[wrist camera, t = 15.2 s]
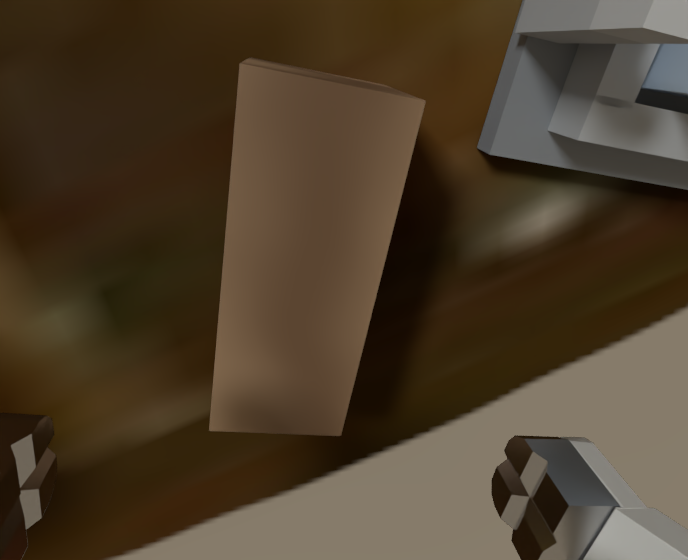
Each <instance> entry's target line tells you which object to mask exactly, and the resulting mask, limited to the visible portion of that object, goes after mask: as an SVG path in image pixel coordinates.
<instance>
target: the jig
mask: <svg viewBox="0 0 688 560" xmlns="http://www.w3.org/2000/svg"><path fill="white" fill-rule="evenodd" d="M660 44H688V0H523V1H522V4H521V7H520V11H519V14H518V17H517V20H516V24H515V27H514V30H513V33H512V36H511V40H510V43H509V46H508V49H507V53H506V56H505V59H504V62H503V66H502V69H501V72H500V75H499V78H498V82H497V85H496V88H495V91H494V95H493V98H492V101H491V104H490V107H489V111H488V114H487V117H486V120H485V124H484V127H483V130H482V133H481V137H480V140H479V143H478V146H477V148H478V149H480V150H482V151H484V152H486V153H488V154H489V155H495V156H501V157H506V158H512V159H517V160H523V161H529V162H534V163H540V164H545V165H551V166H557V167H562V168H568V169H573V170H579V171H585V172H590V173H596V174H602V175H607V176H613V177H618V178H624V179H630V180H635V181H641V182H646V183H652V184H658V185H663V186H669V187H674V188H680V189H686V190H688V98H686V97H680V96H675V95H670V94H665V93H660V92H655V91H650V90H645V89H641V87H642V84H643V82H644V80H645V77H646V75H647V73H648V71H649V68H650V66H651V64H652V61H653V59H654V57H655V55H656V52H657V50H658V48H659V46H660Z"/></svg>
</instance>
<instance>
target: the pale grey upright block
mask: <svg viewBox="0 0 688 560" xmlns="http://www.w3.org/2000/svg"><path fill="white" fill-rule="evenodd" d="M641 89H645V90H650V91H655V92H660V93H665V94H670V95H675V96H680V97H686V98H688V44H660V46H659V48H658V50H657V52H656V55H655V57H654V59H653V61H652V64H651V66H650V68H649V71H648V73H647V75H646V77H645V80H644V82H643V84H642V87H641Z"/></svg>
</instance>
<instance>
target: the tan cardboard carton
mask: <svg viewBox="0 0 688 560" xmlns="http://www.w3.org/2000/svg"><path fill="white" fill-rule="evenodd" d="M425 102H426V101H425V100H422V99H420V98H417V97H414V96H412V95H409V94H407V93H404V92H402V91H399V90H396V89H394V88H391V87H389V86H386V85H383V84H378V83H373V82H368V81H363V80H358V79H353V78H349V77H344V76H339V75H334V74H329V73H324V72H319V71H314V70H310V69H305V68H300V67H295V66H290V65H285V64H280V63H276V62H271V61H266V60H261V59H256V58H251V57H250V58H248V59H246V60H245V61H243V62H241V63H240V67H239V79H238V91H237V103H236V115H235V127H234V139H233V151H232V163H231V174H230V186H229V198H228V210H227V222H226V234H225V246H224V258H223V270H222V282H221V294H220V306H219V318H218V330H217V342H216V354H215V366H214V378H213V390H212V402H211V414H210V426H209V431H227V432H252V433H277V434H301V435H326V436H341V434H342V430H343V426H344V422H345V418H346V414H347V410H348V406H349V402H350V398H351V394H352V390H353V386H354V382H355V378H356V374H357V370H358V366H359V362H360V359H361V355H362V351H363V347H364V343H365V339H366V335H367V331H368V327H369V323H370V319H371V315H372V311H373V307H374V303H375V299H376V295H377V291H378V287H379V284H380V280H381V276H382V272H383V268H384V264H385V260H386V256H387V252H388V248H389V244H390V240H391V236H392V232H393V228H394V224H395V220H396V216H397V212H398V209H399V205H400V201H401V197H402V193H403V189H404V185H405V181H406V177H407V173H408V169H409V165H410V161H411V157H412V153H413V149H414V145H415V141H416V138H417V134H418V130H419V126H420V122H421V118H422V114H423V110H424V106H425Z"/></svg>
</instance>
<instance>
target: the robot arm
mask: <svg viewBox="0 0 688 560" xmlns="http://www.w3.org/2000/svg"><path fill="white" fill-rule="evenodd" d="M53 436H54V429H53V422H52V418H50V417H48V416H43V415H27V414H12V413H0V560H21V559H22V557H23V555H24V553H25V551H26V549H27V547H28V541H27V534H26V529H28V528H29V527H30V526H32V525H33V524H34V523H36V522H37V521H38V520H40V519H41V518H42V516H43V514H44V512H45V510H46V508H47V506H48V504H49V502H50V499H51V495H52V492H53V489H54V485H55V482H56V473H57V459H56V455H55V454H54V453H53V452H52V451H51V450H50V449H49V448H48V445H49V443H50V441H51V439H52V438H53ZM505 454H506V456H507V460H505V461H504V462H503V463H501V464H500V465H499V466H498V467H497V468H496V470H495V473H494V475H493V478H492V496H493V501H494V505H495V508H496V510H497V512H498V514H499V516H500V518H501V519H502V520H503V521H504V522H506V523H507V524H508V525H509V526H510V527H511V528H513V534H512V542H513V544H514V546H515V548H516V550H517V552H518V554H519V556H520V558H521V560H688V530H687V529H686V528H684V527H683V526H681V525H680V524H678V523H677V522H675V521H674V520H672V519H671V518H669V517H667V516H666V515H665V514H663V513H661V512H660V511H658V510H657V509H655V508H647V507H646V505H645V504H644V503H643V502H642V501H641V500H640V498H639V497H638V496H637V495H636V494H635V492H634V491H633V490H632V489H631V488H630V486H629V485H628V484H627V483H626V482H625V480H624V479H623V478H622V477H621V476H620V474H619V473H618V472H617V471H616V470H615V468H614V467H613V466H612V465H611V464H610V462H609V461H608V460H607V459H606V458H605V457H604V455H603V454H602V453H601V452H600V451H599V449H598V448H597V447H596V446H595V445H594V444H593V443H592V442H591V441H589V440H588V439H586V438H581V437H560V438H559V437H539V436H514V437H513V438H512V439H510V440H509V442H508V444H507V446H506V448H505Z"/></svg>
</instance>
